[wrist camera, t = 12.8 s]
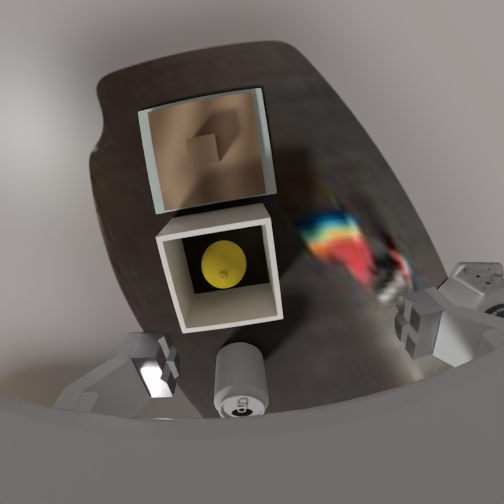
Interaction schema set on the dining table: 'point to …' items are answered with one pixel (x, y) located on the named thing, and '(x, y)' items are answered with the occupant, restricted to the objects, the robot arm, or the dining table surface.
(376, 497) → the robot arm
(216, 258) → the lemon
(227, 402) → the can
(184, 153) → the lid
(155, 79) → the dining table surface
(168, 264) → the white open square box
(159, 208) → the mat
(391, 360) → the dining table surface
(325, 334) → the dining table surface
